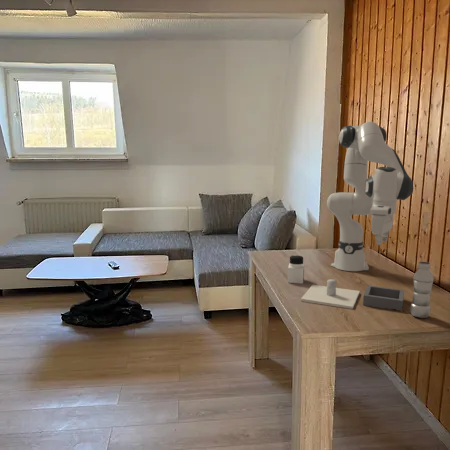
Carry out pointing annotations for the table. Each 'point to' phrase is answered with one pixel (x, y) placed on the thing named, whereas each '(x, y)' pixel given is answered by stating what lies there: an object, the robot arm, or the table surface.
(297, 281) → the medicine bottle
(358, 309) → the table surface
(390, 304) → the grey rectangular frame
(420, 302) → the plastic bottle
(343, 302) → the post stand
